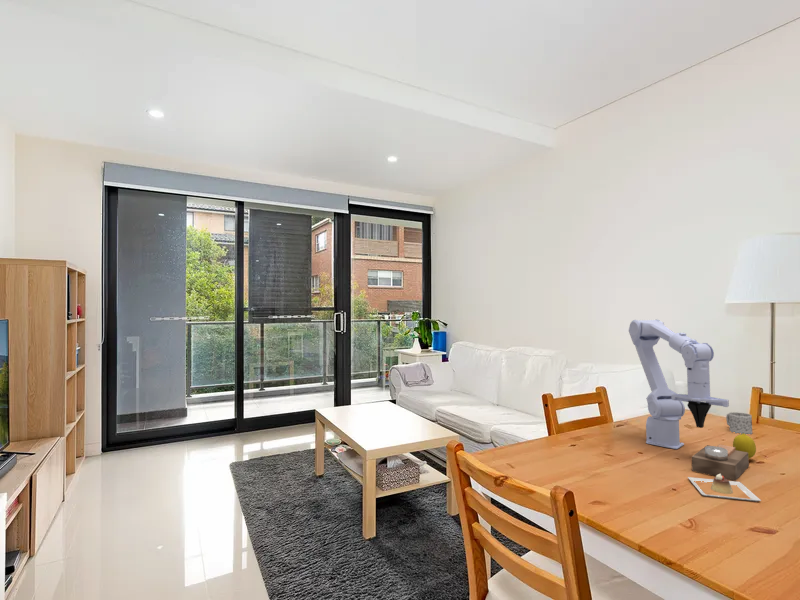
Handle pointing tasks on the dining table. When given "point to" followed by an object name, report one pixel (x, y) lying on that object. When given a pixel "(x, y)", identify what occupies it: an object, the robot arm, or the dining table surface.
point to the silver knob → (716, 453)
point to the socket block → (721, 464)
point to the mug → (739, 422)
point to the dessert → (724, 487)
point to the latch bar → (729, 448)
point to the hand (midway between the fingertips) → (700, 427)
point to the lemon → (745, 444)
